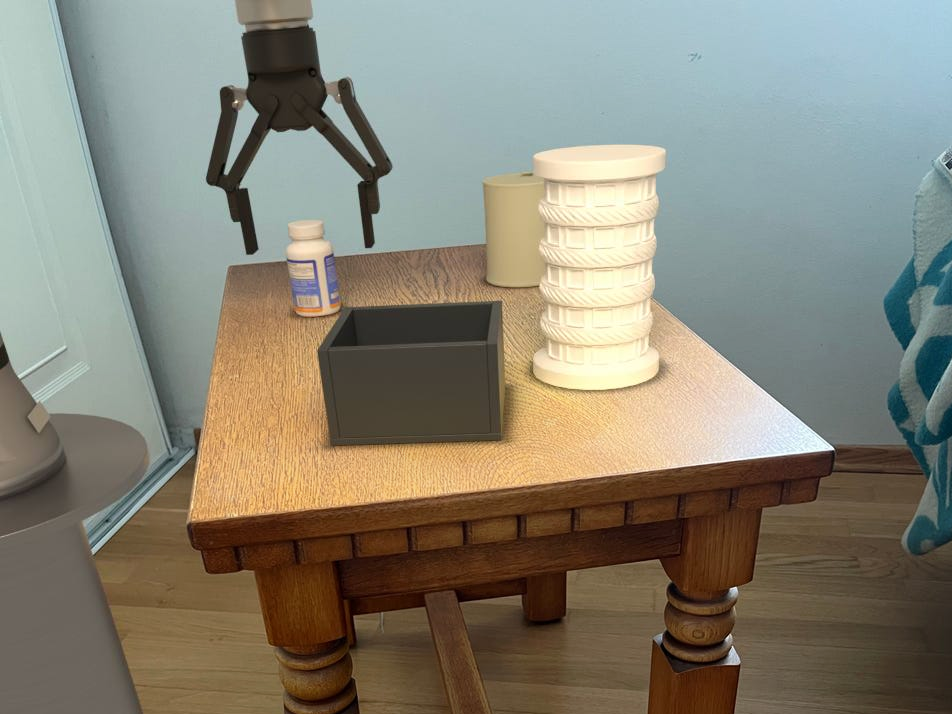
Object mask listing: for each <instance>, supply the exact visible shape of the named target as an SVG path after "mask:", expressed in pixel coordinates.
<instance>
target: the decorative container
mask: <svg viewBox="0 0 952 714" xmlns="http://www.w3.org/2000/svg"><path fill="white" fill-rule="evenodd" d="M666 157H667V151H666V148H663V147H661V146H656V145H648V144H647V145H646V144H593V145H592V144H591V145H581V146H580V145H579V146H570V147H561V148H554V149H549V150H544V151H539V152H537V153H535V154H534V155H533V157H532V162H533V163H532V165H533V166H532V168H533V169H532V170H533V173H534V174H535V175H536V176H538V177H541V178H544V197H543V198H541V199H540V202H539V206H538V211H539V215H540V219H541V220H542V221H544V232H545V236H544V237H543V238H541V241H540V245H539V252H540V258H541V259H542V260H543V261H544V262H545V275H544V276H542V278H541V282H540V286H538V287H539V293H540V297H541V298H542V299H543V300H544V301H545V302H544V303H545V304H544V306H545V308H544V309H545V310H544V311H543V312H542V313H541V317H540V321H539V327H540V330H541V334H542V335H543V337H544V338H545V346H543V347H541V348H540V349H539V350H537V351H536V352H535V353H534V354H533V358H532V371H533V372H532V373H533V374H534V376H535V378H536V379H537V380H539V381H541V382H542V383H545V384H548V385H551V386H554V387H558V388H563V389H570V390H583V391H604V390H615V389H622V388H626V387H627V388H628V387H631V386H636V385H640V384H643V383H644V382H647V381H649V380H650V379H652V378H654V377H656V375H657V374H658V372H659V371H660V370H659V368H660V352H659V351H658V350H657V349H656V348H655V347H653V346H651V345H649V343H650V341H649V339H650V333H651V331H652V329H653V324H654V316H653V311H652V310H651V301H652V298H651V297H652V295H653V294H654V290H655V287H656V280H655V275H654V273H653V257H654V256H656V251H657V248H658V241H657V236H656V234H655V217H656V216H658V211H659V208H660V207H659V206H660V201H659V196H658V193H657V175H658V173H660V172H662V171H664V170H665V169H666Z"/></svg>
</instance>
